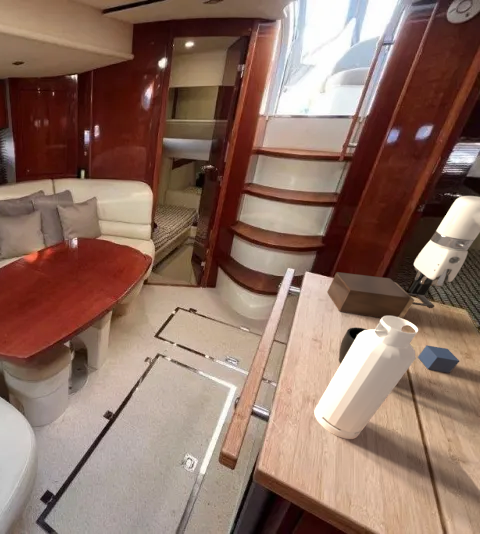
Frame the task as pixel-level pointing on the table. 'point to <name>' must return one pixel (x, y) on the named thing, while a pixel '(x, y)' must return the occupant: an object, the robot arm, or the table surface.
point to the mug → (348, 341)
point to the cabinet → (367, 295)
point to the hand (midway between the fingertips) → (416, 293)
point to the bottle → (366, 377)
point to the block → (438, 359)
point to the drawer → (411, 301)
